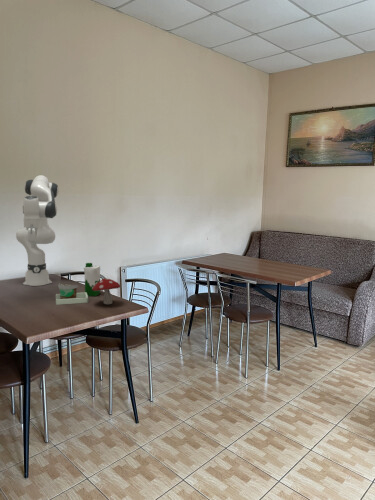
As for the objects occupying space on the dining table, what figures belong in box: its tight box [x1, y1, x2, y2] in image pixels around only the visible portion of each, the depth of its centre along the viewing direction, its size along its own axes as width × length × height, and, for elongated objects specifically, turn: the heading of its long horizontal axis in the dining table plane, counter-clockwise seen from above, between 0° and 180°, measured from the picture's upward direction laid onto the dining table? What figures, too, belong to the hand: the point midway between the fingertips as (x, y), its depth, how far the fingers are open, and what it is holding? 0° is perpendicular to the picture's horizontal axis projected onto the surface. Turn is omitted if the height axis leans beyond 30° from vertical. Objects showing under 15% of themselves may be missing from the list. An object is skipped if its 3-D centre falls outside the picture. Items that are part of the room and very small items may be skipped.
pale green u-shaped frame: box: [55, 291, 89, 306], centre depth 228 cm, size 13×18×3 cm
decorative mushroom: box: [92, 277, 121, 305], centre depth 222 cm, size 16×16×15 cm
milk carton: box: [83, 262, 101, 297], centre depth 241 cm, size 9×9×20 cm
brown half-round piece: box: [57, 282, 78, 299], centre depth 227 cm, size 12×6×10 cm, turn 72°
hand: (32, 247), depth 225 cm, fingers closed
